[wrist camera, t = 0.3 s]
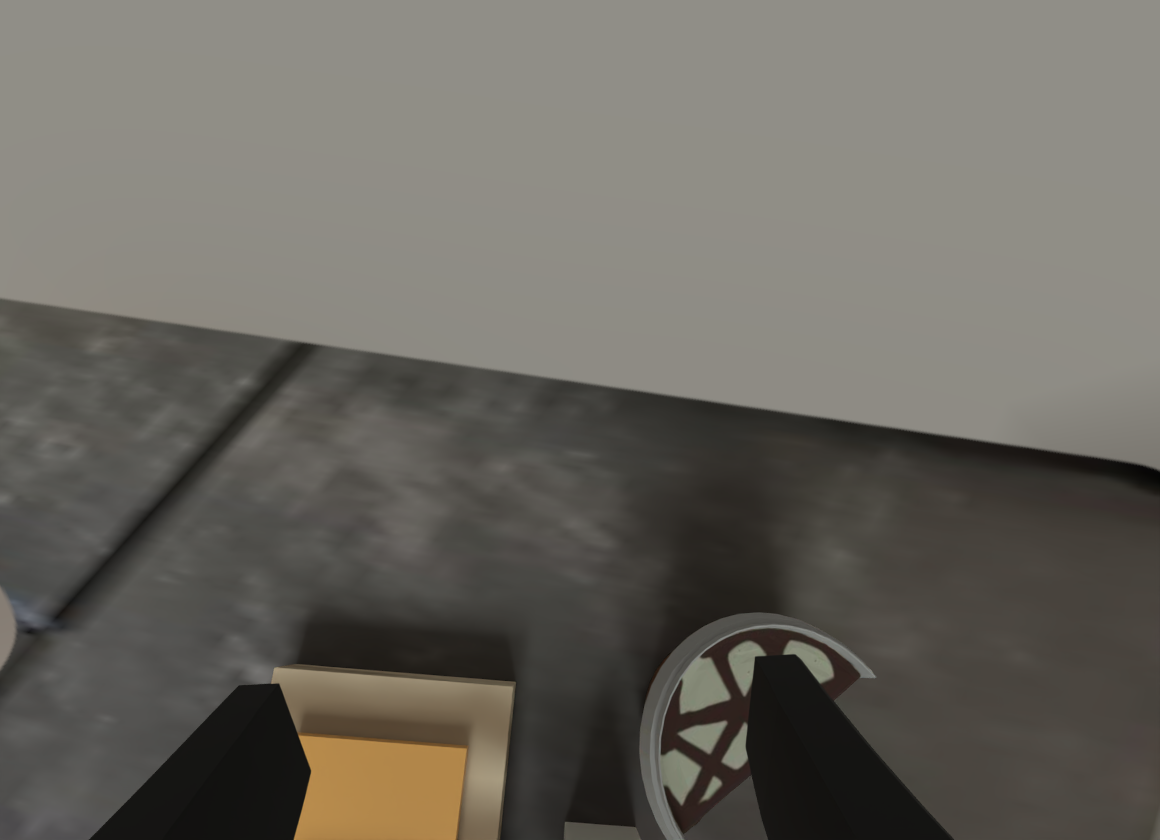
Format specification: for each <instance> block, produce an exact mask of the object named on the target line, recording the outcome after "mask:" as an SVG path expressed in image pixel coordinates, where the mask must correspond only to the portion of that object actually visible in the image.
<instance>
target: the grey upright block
mask: <svg viewBox="0 0 1160 840" xmlns="http://www.w3.org/2000/svg"><path fill="white" fill-rule="evenodd" d="M563 840H641V838H640V836H639V833H638V831H637V829H636V827H627V826H614V825H601V824H588V823H575V822H565V826H564V839H563Z"/></svg>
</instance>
